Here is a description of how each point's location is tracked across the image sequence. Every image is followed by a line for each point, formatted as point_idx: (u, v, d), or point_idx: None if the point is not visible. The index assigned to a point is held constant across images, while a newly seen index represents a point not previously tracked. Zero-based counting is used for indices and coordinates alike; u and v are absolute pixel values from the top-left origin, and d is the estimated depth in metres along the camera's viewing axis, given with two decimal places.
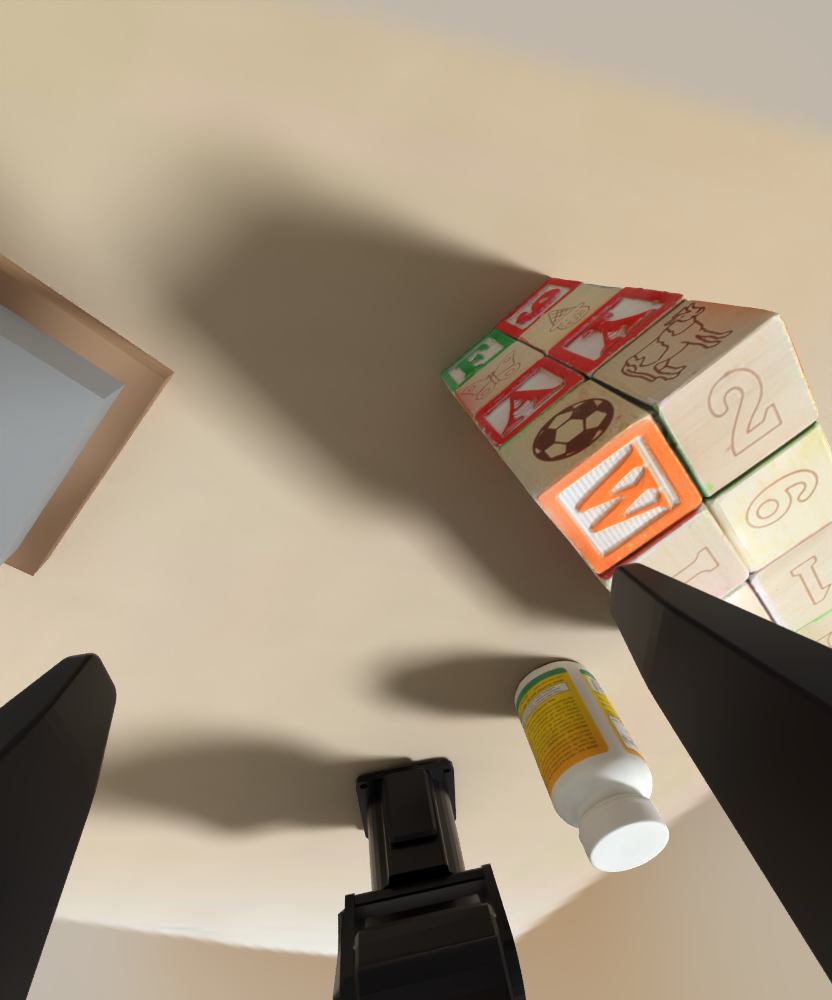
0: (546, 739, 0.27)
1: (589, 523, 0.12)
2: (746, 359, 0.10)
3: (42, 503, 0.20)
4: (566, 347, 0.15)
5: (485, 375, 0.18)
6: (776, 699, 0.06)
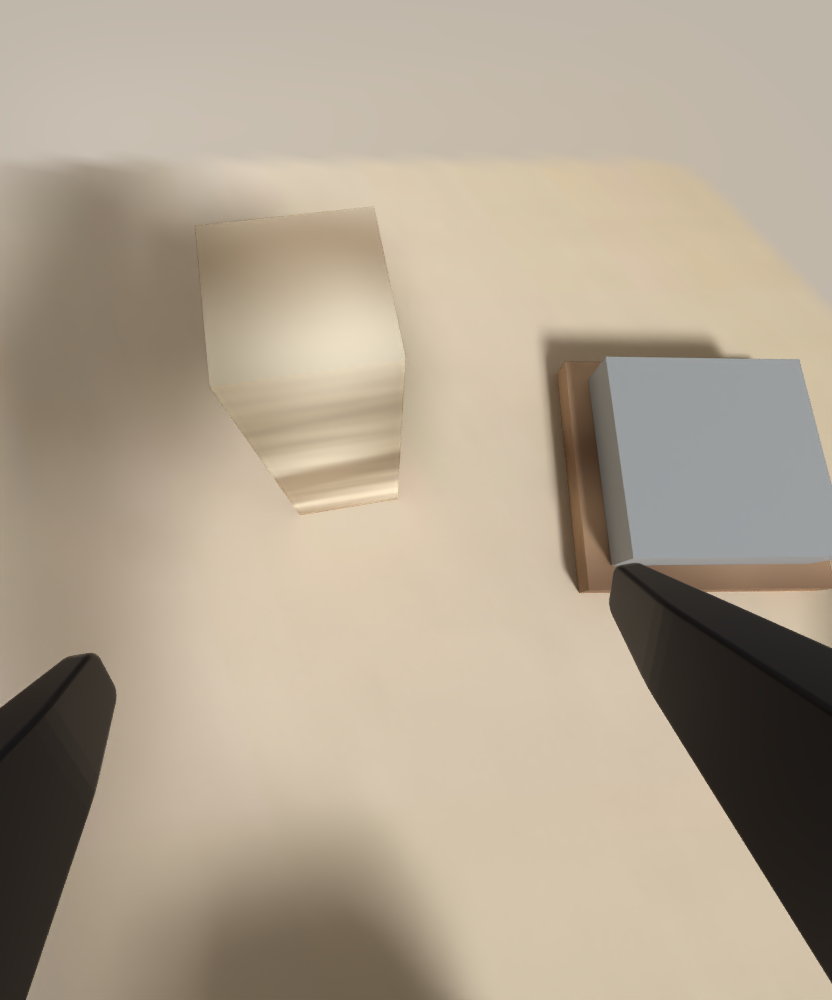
0: None
1: None
2: None
3: (697, 561, 0.21)
4: None
5: None
6: (776, 699, 0.06)
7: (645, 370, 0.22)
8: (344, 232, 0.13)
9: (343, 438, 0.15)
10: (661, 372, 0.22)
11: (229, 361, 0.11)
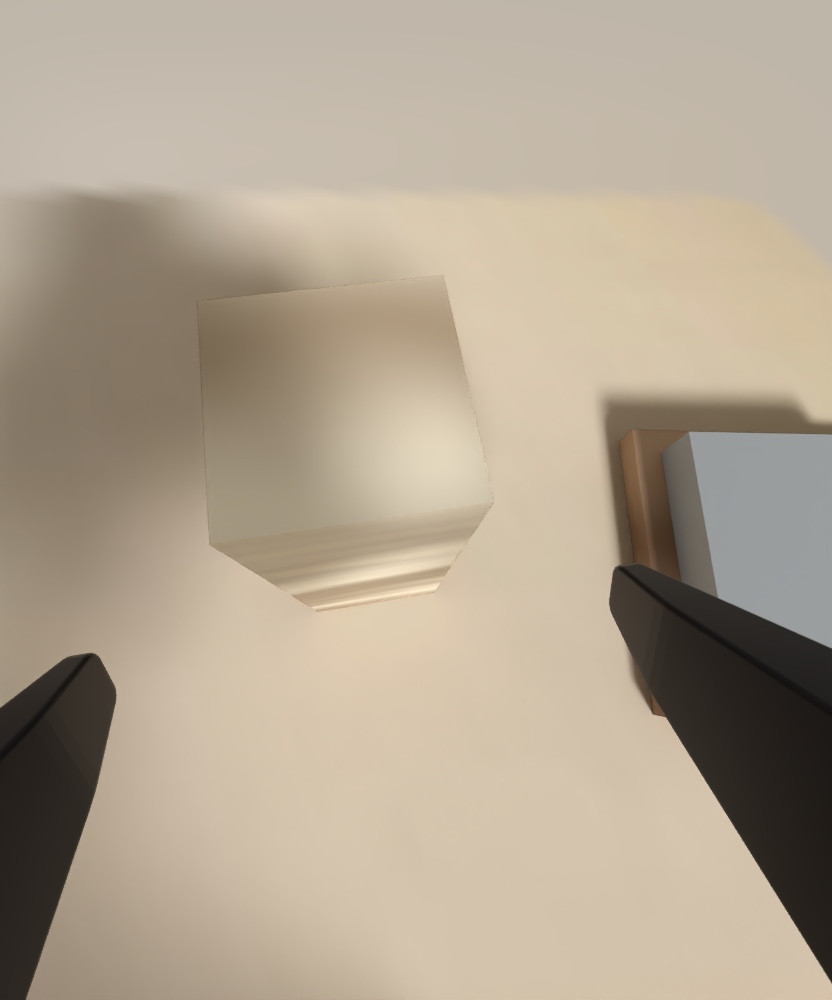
0: None
1: None
2: None
3: None
4: None
5: None
6: (776, 699, 0.06)
7: (737, 449, 0.18)
8: (403, 312, 0.09)
9: (385, 564, 0.12)
10: (756, 451, 0.18)
11: (239, 503, 0.08)
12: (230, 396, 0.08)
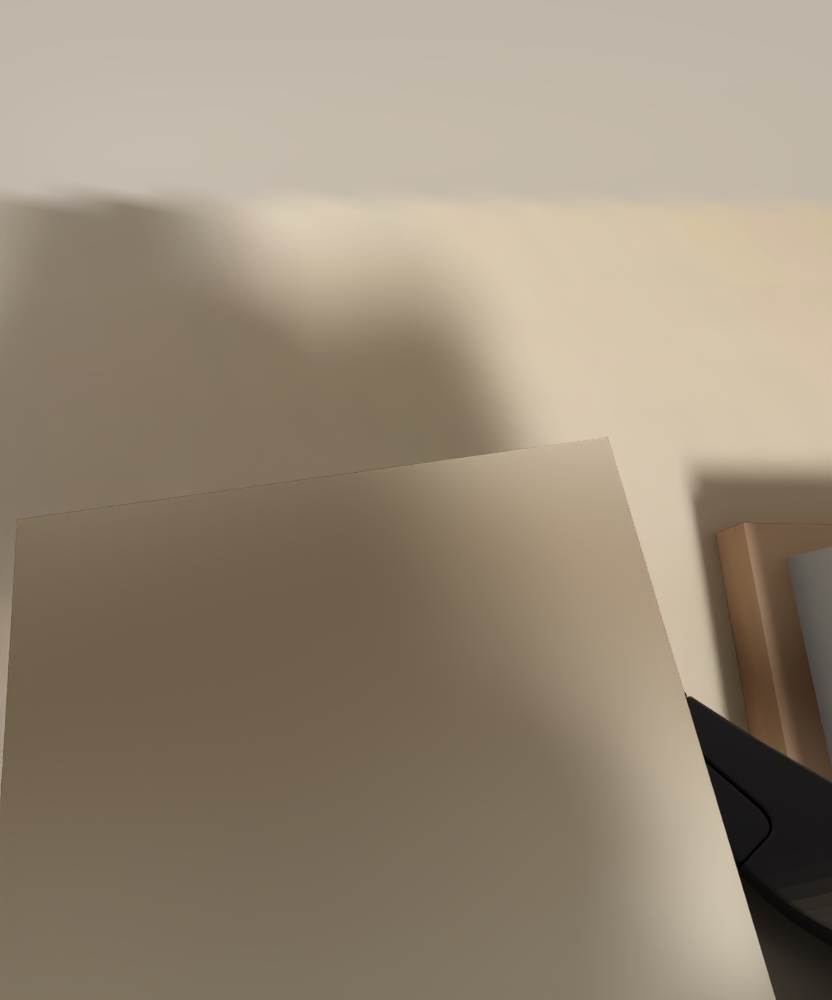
0: None
1: None
2: None
3: None
4: None
5: None
6: None
7: None
8: (523, 539, 0.04)
9: None
10: None
11: None
12: (78, 817, 0.03)
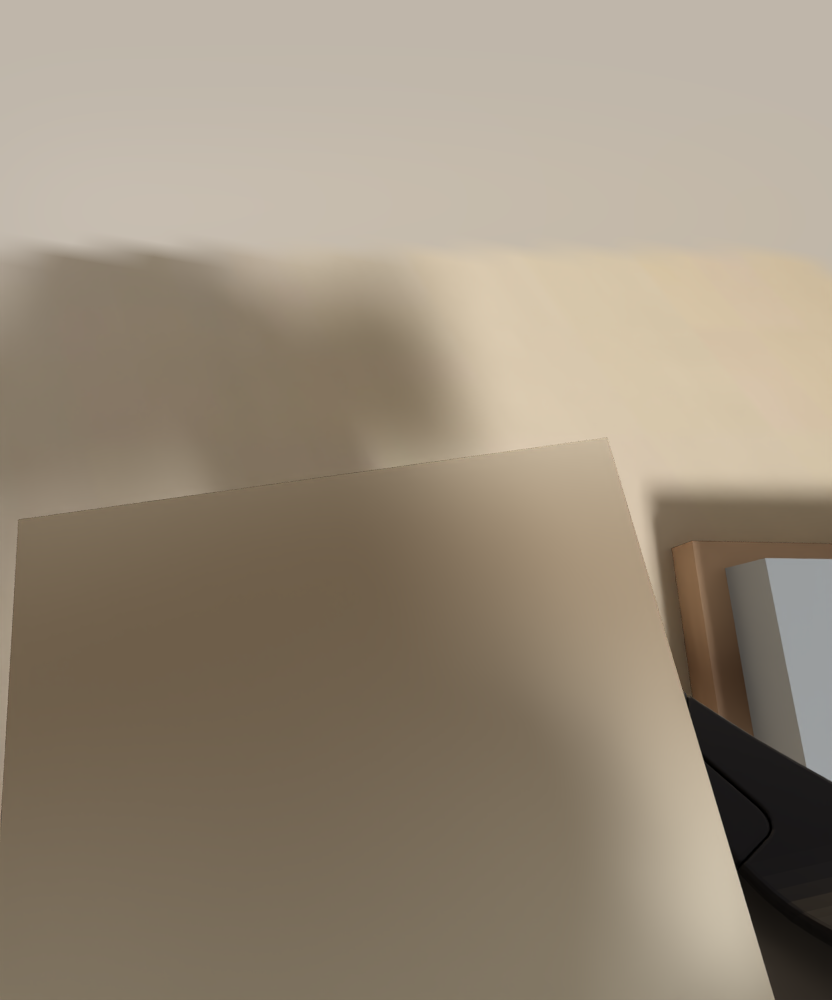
0: None
1: None
2: None
3: None
4: None
5: None
6: None
7: (822, 580, 0.16)
8: (521, 539, 0.04)
9: None
10: None
11: None
12: (79, 816, 0.03)
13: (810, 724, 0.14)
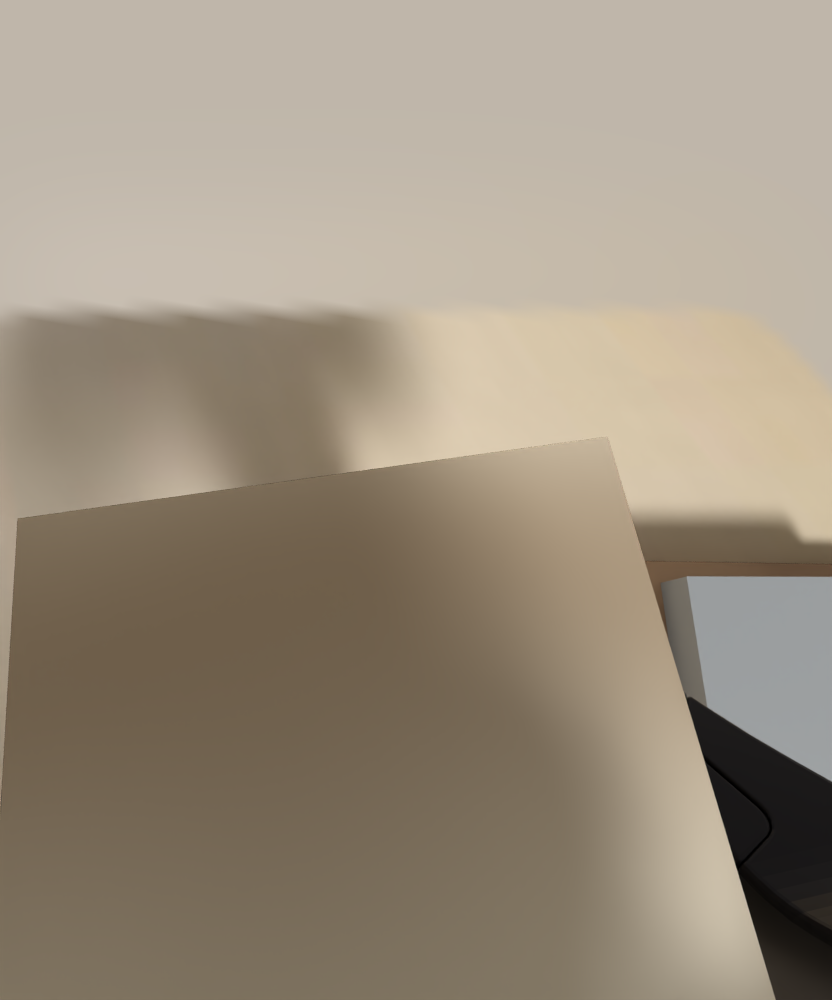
0: None
1: None
2: None
3: None
4: None
5: None
6: None
7: (731, 593, 0.20)
8: (523, 538, 0.04)
9: None
10: (750, 595, 0.20)
11: None
12: (78, 816, 0.03)
13: (717, 708, 0.18)
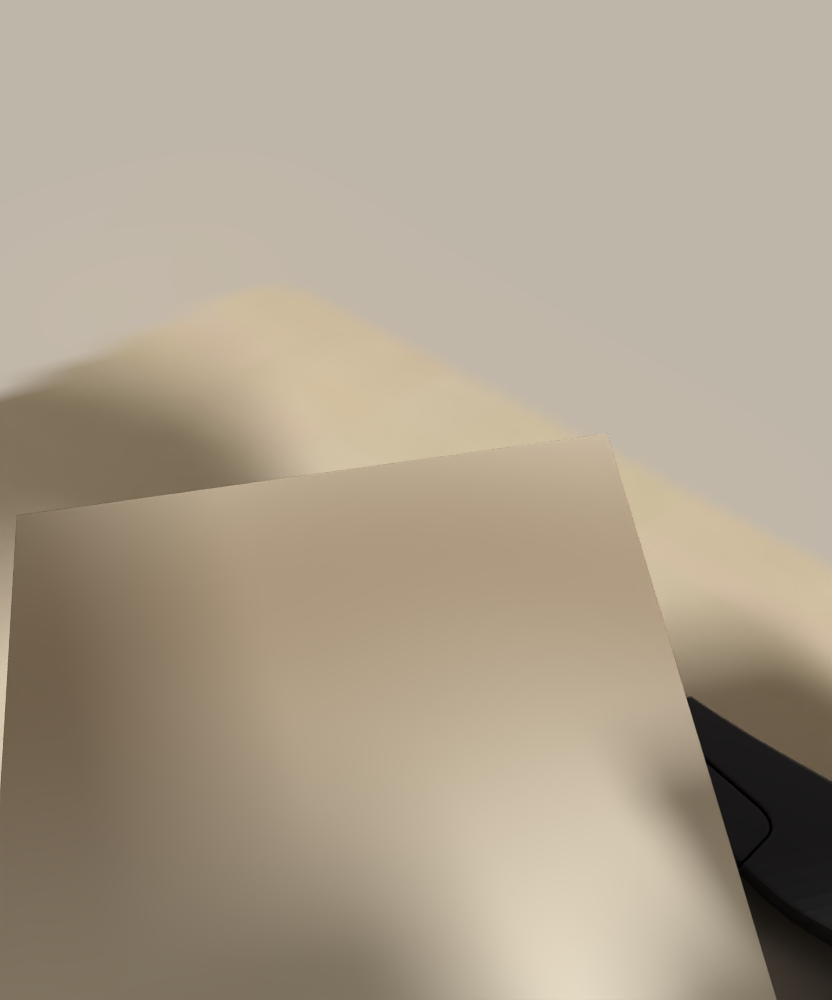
0: None
1: None
2: None
3: None
4: None
5: None
6: None
7: None
8: (523, 535, 0.04)
9: None
10: None
11: None
12: (77, 812, 0.03)
13: None
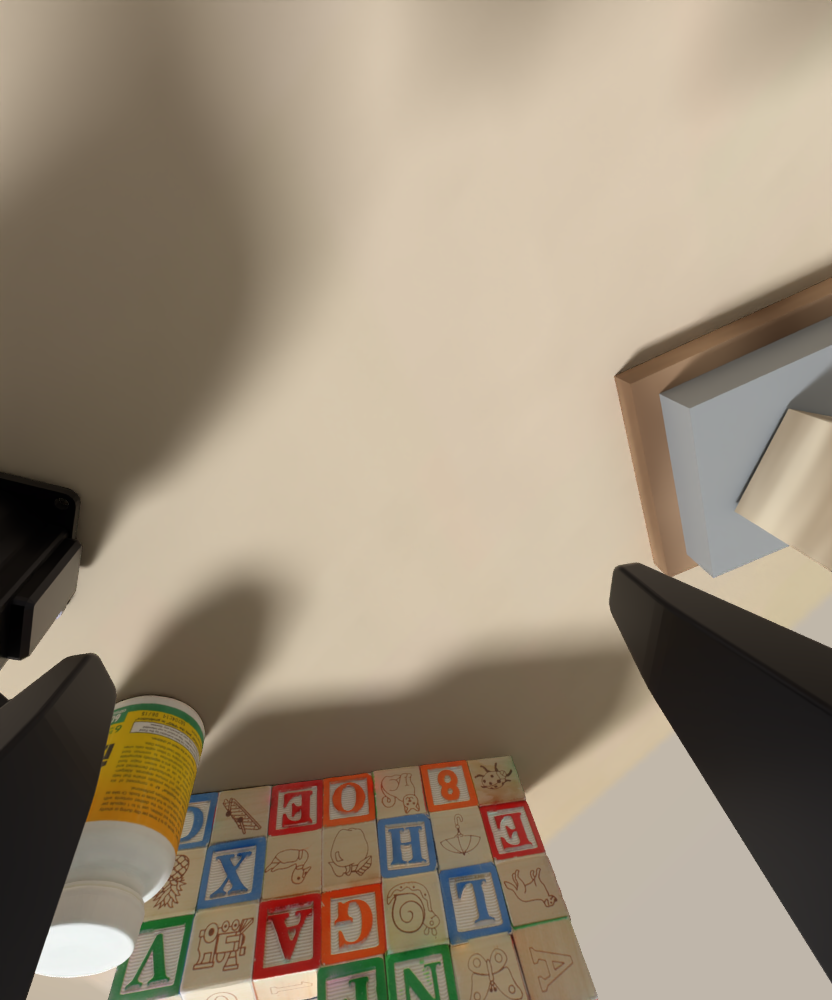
0: (167, 782, 0.22)
1: None
2: None
3: (682, 467, 0.21)
4: None
5: None
6: (776, 699, 0.06)
7: None
8: None
9: None
10: None
11: None
12: None
13: (795, 370, 0.19)
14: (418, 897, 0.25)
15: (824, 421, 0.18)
